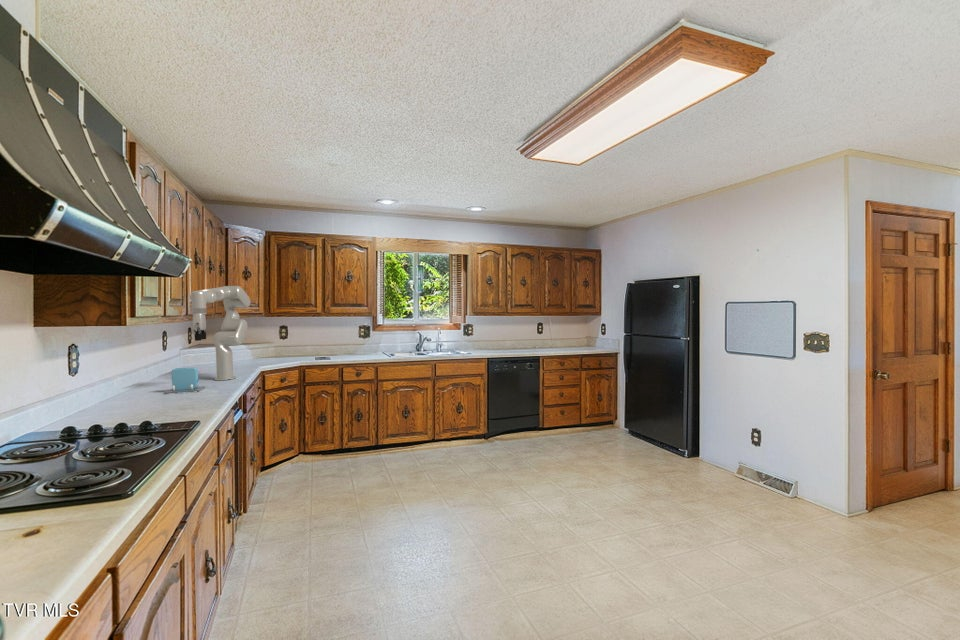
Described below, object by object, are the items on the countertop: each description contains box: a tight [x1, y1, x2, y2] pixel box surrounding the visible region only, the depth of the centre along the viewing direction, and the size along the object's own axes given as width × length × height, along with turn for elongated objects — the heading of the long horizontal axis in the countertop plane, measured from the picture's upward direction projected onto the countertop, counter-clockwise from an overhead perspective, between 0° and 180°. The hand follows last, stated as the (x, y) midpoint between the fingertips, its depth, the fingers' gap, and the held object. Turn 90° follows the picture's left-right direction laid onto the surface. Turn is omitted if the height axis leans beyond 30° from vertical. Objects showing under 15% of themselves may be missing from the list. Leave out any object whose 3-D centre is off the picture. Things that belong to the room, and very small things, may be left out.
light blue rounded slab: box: [171, 366, 199, 390], centre depth 261 cm, size 12×4×12 cm, turn 108°
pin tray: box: [163, 384, 207, 394], centre depth 261 cm, size 14×17×4 cm
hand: (200, 339), depth 275 cm, fingers open, 9 cm apart
